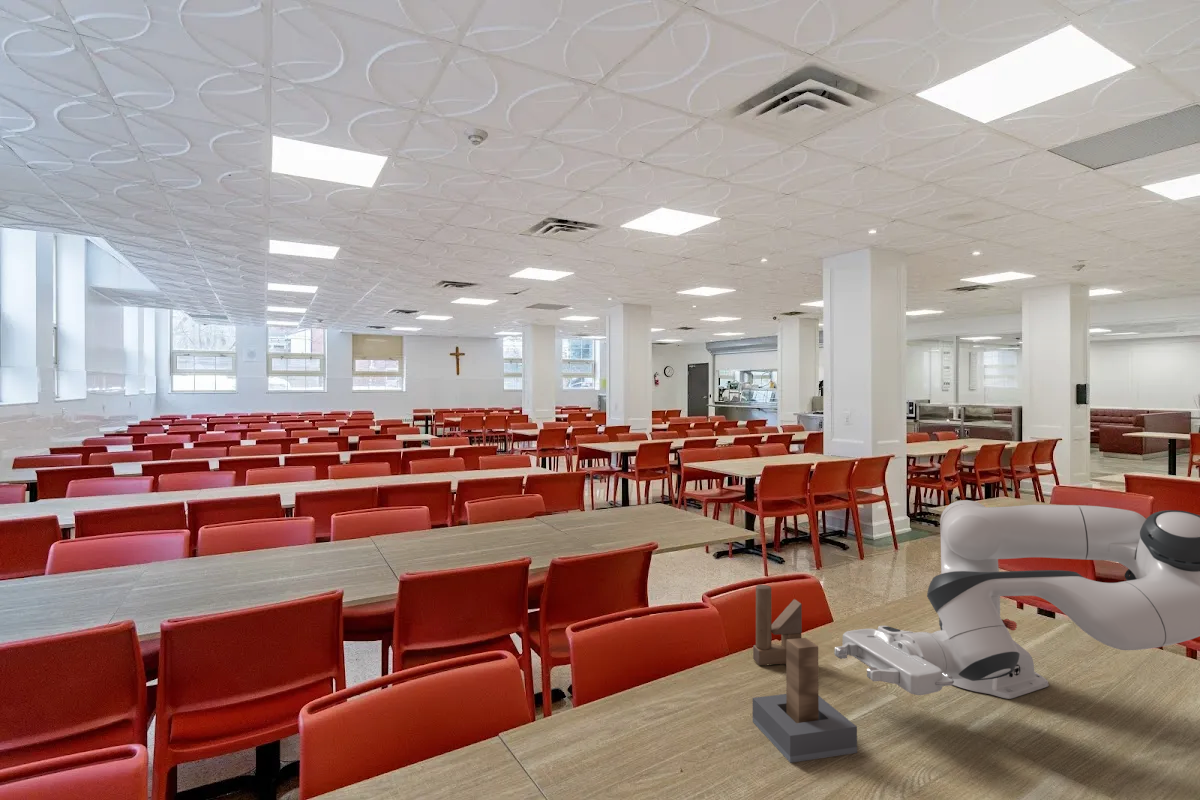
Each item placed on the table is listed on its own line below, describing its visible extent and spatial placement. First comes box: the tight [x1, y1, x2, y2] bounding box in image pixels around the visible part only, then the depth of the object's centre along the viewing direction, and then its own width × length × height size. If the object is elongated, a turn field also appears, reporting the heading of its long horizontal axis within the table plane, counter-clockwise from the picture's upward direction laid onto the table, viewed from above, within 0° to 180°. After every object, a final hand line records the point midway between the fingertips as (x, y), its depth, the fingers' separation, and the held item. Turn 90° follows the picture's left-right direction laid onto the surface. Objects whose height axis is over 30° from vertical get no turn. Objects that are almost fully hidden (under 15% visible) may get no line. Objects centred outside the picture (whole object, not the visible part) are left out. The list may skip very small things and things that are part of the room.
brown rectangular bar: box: [785, 637, 819, 723], centre depth 103 cm, size 4×4×16 cm
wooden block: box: [752, 584, 803, 666], centre depth 134 cm, size 4×11×18 cm, turn 99°
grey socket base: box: [752, 693, 858, 764], centre depth 103 cm, size 13×13×4 cm
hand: (852, 663), depth 106 cm, fingers open, 8 cm apart
